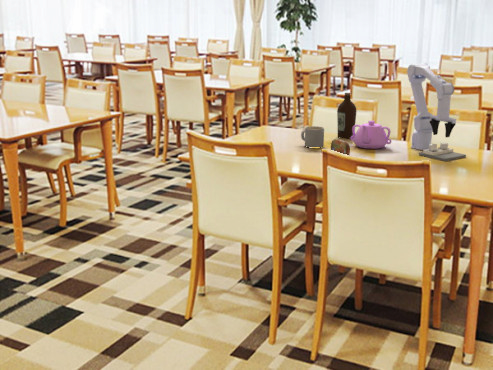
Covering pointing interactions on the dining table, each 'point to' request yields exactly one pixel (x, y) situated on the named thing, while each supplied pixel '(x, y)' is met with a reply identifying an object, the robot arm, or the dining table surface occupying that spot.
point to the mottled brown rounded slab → (340, 146)
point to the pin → (433, 147)
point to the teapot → (370, 135)
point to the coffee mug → (313, 136)
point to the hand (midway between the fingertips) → (441, 135)
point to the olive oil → (346, 117)
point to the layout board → (442, 153)
